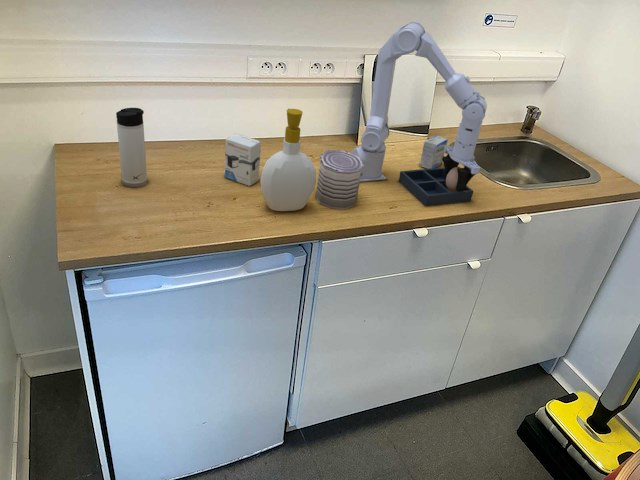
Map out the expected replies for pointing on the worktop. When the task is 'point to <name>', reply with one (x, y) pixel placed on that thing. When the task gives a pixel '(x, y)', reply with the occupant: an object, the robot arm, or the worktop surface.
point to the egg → (452, 179)
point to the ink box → (242, 159)
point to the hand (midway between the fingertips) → (453, 185)
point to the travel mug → (132, 146)
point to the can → (338, 179)
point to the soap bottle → (288, 171)
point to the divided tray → (432, 187)
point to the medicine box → (433, 152)
